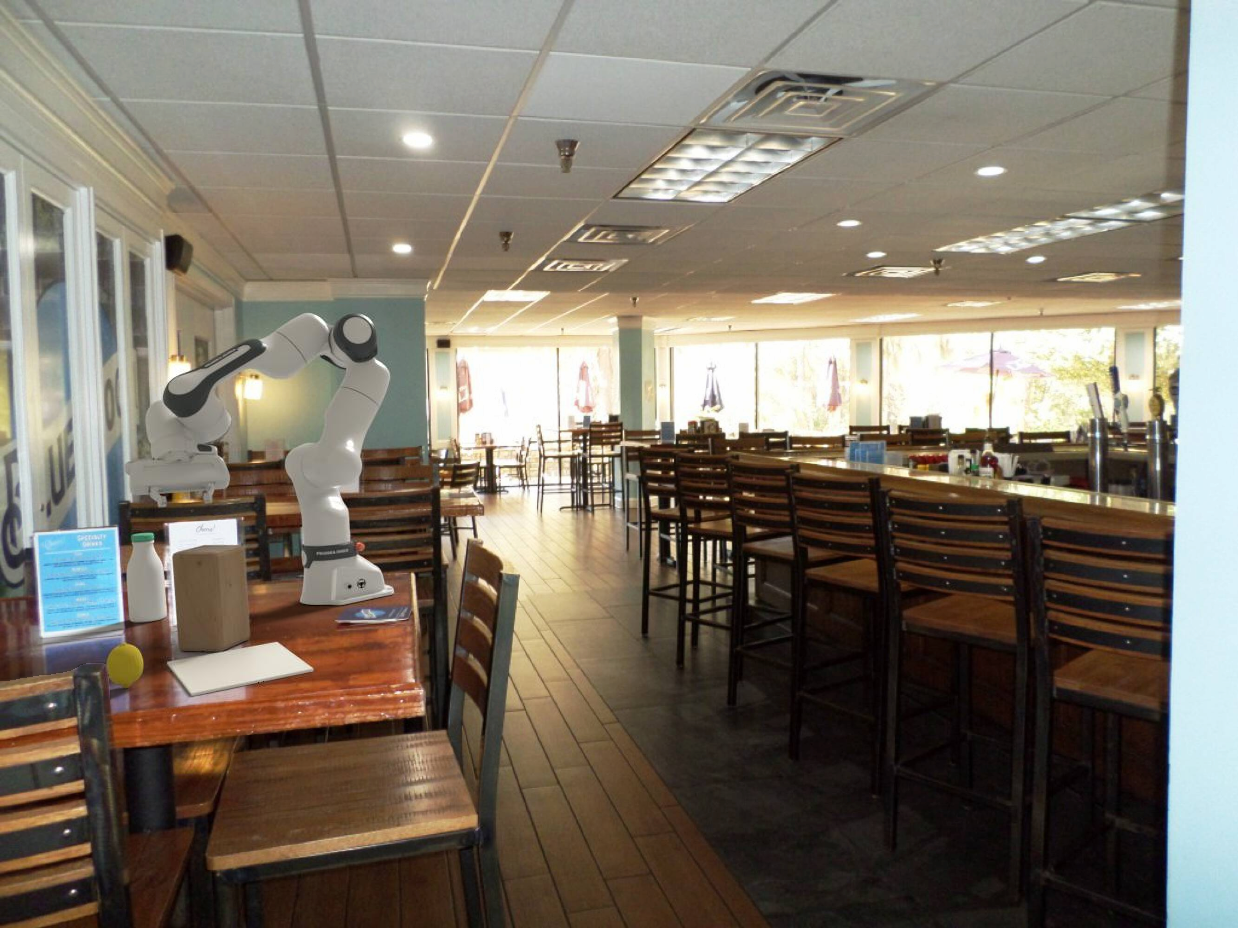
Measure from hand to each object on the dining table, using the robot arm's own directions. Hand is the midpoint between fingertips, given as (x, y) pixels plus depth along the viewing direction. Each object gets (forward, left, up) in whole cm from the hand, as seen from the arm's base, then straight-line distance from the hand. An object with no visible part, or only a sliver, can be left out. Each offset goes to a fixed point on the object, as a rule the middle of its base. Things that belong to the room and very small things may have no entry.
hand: (186, 503), depth 192 cm
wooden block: (0, +22, -28) cm, 35 cm away
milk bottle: (+7, -15, -28) cm, 32 cm away
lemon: (+18, +41, -28) cm, 52 cm away
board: (0, +42, -28) cm, 50 cm away
